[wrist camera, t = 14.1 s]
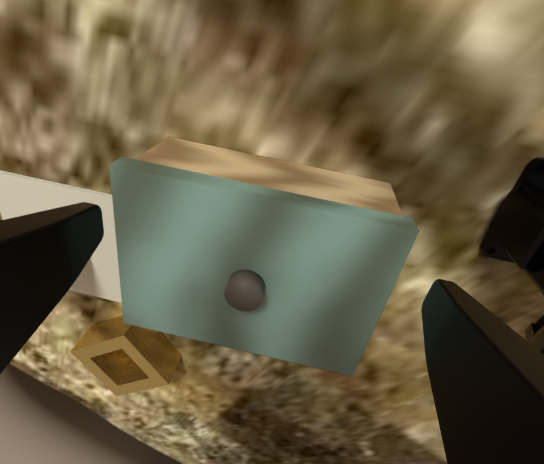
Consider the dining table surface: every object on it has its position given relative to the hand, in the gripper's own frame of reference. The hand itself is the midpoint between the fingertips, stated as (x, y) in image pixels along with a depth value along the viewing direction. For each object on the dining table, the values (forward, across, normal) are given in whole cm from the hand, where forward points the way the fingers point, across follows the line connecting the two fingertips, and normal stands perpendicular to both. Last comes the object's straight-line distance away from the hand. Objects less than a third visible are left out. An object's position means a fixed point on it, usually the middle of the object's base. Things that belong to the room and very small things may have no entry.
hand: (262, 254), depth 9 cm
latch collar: (+13, +11, +22) cm, 28 cm away
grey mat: (+13, +16, +12) cm, 24 cm away
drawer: (+13, +1, +7) cm, 15 cm away
